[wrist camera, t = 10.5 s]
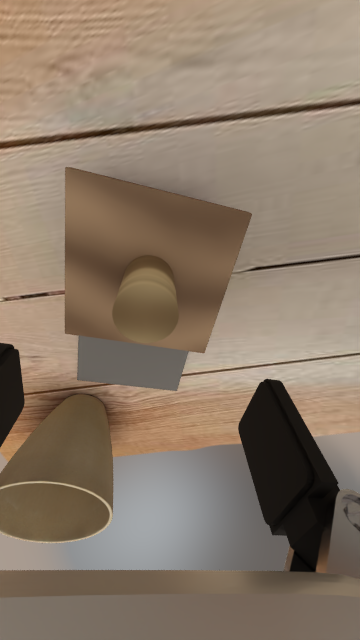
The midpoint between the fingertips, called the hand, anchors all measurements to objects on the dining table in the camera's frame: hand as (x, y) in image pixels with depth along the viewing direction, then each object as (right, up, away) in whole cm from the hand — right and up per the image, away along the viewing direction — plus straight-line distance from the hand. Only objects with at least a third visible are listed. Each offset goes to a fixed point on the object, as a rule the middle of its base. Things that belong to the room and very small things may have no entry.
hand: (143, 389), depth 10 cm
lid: (-1, +7, +11) cm, 13 cm away
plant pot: (-15, -12, +34) cm, 39 cm away
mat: (-5, -1, +27) cm, 28 cm away
